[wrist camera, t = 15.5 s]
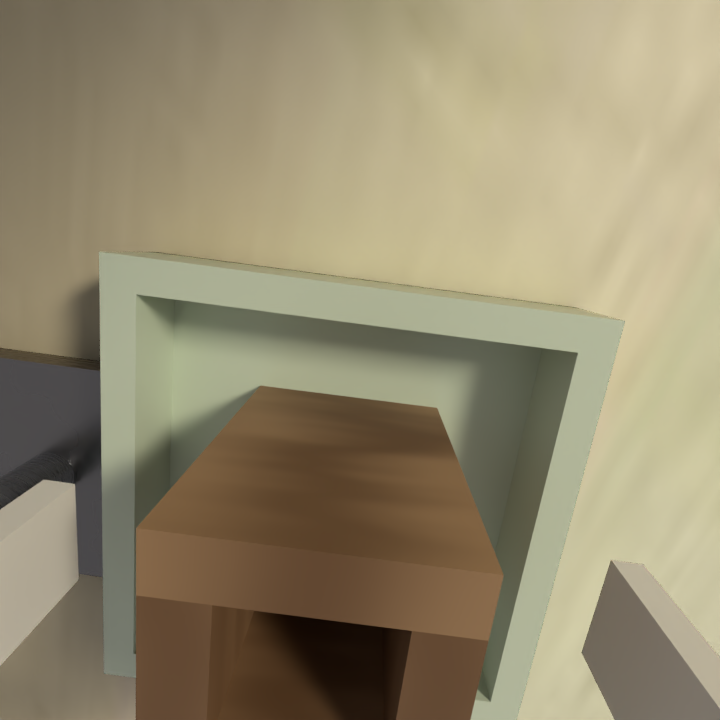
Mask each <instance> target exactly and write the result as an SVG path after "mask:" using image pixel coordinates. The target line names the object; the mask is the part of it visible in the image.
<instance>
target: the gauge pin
mask: <svg viewBox="0 0 720 720" xmlns="http://www.w3.org/2000/svg"><path fill="white" fill-rule="evenodd" d="M42 480H50V481H58V482H65V483H72V484H75V497H76V522H77V547H78V571H79V574H84V575H92V576H99V577H103V551H102V464H101V378H100V361H93V360H86V359H78V358H71V357H63V356H56V355H48V354H41V353H33V352H26V351H18V350H11V349H3V348H0V509H2V508H3V507H5V506H6V505H8V504H9V503H11V502H12V501H13V500H15V499H16V498H18V497H19V496H21V495H22V494H24V493H25V492H26V491H28V490H29V489H31V488H32V487H34V486H35V485H37V484H38V483H39V482H41V481H42Z"/></svg>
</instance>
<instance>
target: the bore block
mask: <svg viewBox="0 0 720 720" xmlns="http://www.w3.org/2000/svg"><path fill="white" fill-rule="evenodd" d="M503 576H504V574H503V572H502V569H501V567H500V564H499V562H498V559H497V557H496V554H495V552H494V549H493V547H492V544H491V542H490V539H489V537H488V534H487V532H486V529H485V527H484V524H483V522H482V519H481V517H480V514H479V512H478V509H477V507H476V504H475V502H474V499H473V497H472V494H471V492H470V489H469V487H468V484H467V482H466V479H465V477H464V474H463V472H462V469H461V467H460V464H459V461H458V459H457V456H456V454H455V451H454V449H453V446H452V444H451V441H450V439H449V436H448V434H447V431H446V429H445V426H444V424H443V421H442V419H441V416H440V414H439V411H438V409H437V408H435V407H427V406H419V405H411V404H403V403H395V402H387V401H379V400H371V399H363V398H355V397H347V396H340V395H332V394H324V393H316V392H308V391H300V390H292V389H284V388H276V387H268V386H260V387H259V388H258V389H257V390H256V391H255V392H254V394H253V395H252V396H251V397H250V398H249V399H248V400H247V402H246V403H245V404H244V405H243V406H242V407H241V408H240V410H239V411H238V412H237V413H236V414H235V415H234V416H233V418H232V419H231V420H230V421H229V422H228V423H227V424H226V426H225V427H224V428H223V429H222V430H221V431H220V433H219V434H218V435H217V436H216V437H215V438H214V439H213V441H212V442H211V443H210V444H209V445H208V446H207V447H206V449H205V450H204V451H203V452H202V453H201V454H200V455H199V457H198V458H197V459H196V460H195V461H194V462H193V463H192V465H191V466H190V467H189V468H188V469H187V470H186V472H185V473H184V474H183V475H182V476H181V477H180V478H179V480H178V481H177V482H176V483H175V484H174V485H173V486H172V488H171V489H170V490H169V491H168V492H167V493H166V494H165V496H164V497H163V498H162V499H161V500H160V501H159V502H158V504H157V505H156V506H155V507H154V508H153V509H152V511H151V512H150V513H149V514H148V515H147V516H146V517H145V519H144V520H143V521H142V522H141V523H140V524H139V525H138V527H137V528H136V720H470V719H471V715H472V711H473V706H474V702H475V698H476V693H477V689H478V685H479V680H480V676H481V672H482V667H483V663H484V659H485V654H486V650H487V646H488V641H489V637H490V633H491V628H492V624H493V620H494V615H495V611H496V607H497V602H498V598H499V594H500V589H501V585H502V581H503Z"/></svg>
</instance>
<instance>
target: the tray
mask: <svg viewBox="0 0 720 720" xmlns="http://www.w3.org/2000/svg"><path fill="white" fill-rule="evenodd" d="M99 291H100V378H101V464H102V551H103V637H104V674H110V675H117V676H124V677H132V678H136V528H137V527H138V525H139V524H140V523H141V522H142V521H143V520H144V519H145V517H146V516H147V515H148V514H149V513H150V512H151V511H152V509H153V508H154V507H155V506H156V505H157V504H158V502H159V501H160V500H161V499H162V498H163V497H164V496H165V494H166V493H167V492H168V491H169V490H170V489H171V488H172V486H173V485H174V484H175V483H176V482H177V481H178V480H179V478H180V477H181V476H182V475H183V474H184V473H185V472H186V470H187V469H188V468H189V467H190V466H191V465H192V463H193V462H194V461H195V460H196V459H197V458H198V457H199V455H200V454H201V453H202V452H203V451H204V450H205V449H206V447H207V446H208V445H209V444H210V443H211V442H212V441H213V439H214V438H215V437H216V436H217V435H218V434H219V433H220V431H221V430H222V429H223V428H224V427H225V426H226V424H227V423H228V422H229V421H230V420H231V419H232V418H233V416H234V415H235V414H236V413H237V412H238V411H239V410H240V408H241V407H242V406H243V405H244V404H245V403H246V402H247V400H248V399H249V398H250V397H251V396H252V395H253V394H254V392H255V391H256V390H257V389H258V388H259V387H260V386H268V387H276V388H284V389H292V390H300V391H308V392H316V393H324V394H332V395H340V396H347V397H355V398H363V399H371V400H379V401H387V402H395V403H403V404H411V405H419V406H427V407H435V408H437V409H438V411H439V414H440V416H441V419H442V421H443V424H444V426H445V429H446V431H447V434H448V436H449V439H450V441H451V444H452V446H453V449H454V451H455V454H456V456H457V459H458V461H459V464H460V467H461V469H462V472H463V474H464V477H465V479H466V482H467V484H468V487H469V489H470V492H471V494H472V497H473V499H474V502H475V504H476V507H477V509H478V512H479V514H480V517H481V519H482V522H483V524H484V527H485V529H486V532H487V534H488V537H489V539H490V542H491V544H492V547H493V549H494V552H495V554H496V557H497V559H498V562H499V564H500V567H501V569H502V572H503V574H504V576H503V581H502V585H501V589H500V594H499V598H498V602H497V607H496V611H495V615H494V620H493V624H492V628H491V633H490V637H489V641H488V646H487V650H486V654H485V659H484V663H483V667H482V672H481V676H480V680H479V685H478V689H477V693H476V698H475V702H474V706H473V711H472V715H471V719H470V720H517V717H518V713H519V710H520V706H521V702H522V699H523V695H524V691H525V688H526V684H527V680H528V677H529V673H530V669H531V665H532V662H533V658H534V654H535V651H536V647H537V643H538V640H539V636H540V632H541V629H542V625H543V621H544V618H545V614H546V610H547V607H548V603H549V599H550V596H551V592H552V588H553V585H554V581H555V577H556V573H557V570H558V566H559V562H560V559H561V555H562V551H563V548H564V544H565V540H566V537H567V533H568V529H569V526H570V522H571V518H572V515H573V511H574V507H575V504H576V500H577V496H578V493H579V489H580V485H581V482H582V478H583V474H584V470H585V467H586V463H587V459H588V456H589V452H590V448H591V445H592V441H593V437H594V434H595V430H596V426H597V423H598V419H599V415H600V412H601V408H602V404H603V401H604V397H605V393H606V390H607V386H608V382H609V378H610V375H611V371H612V367H613V364H614V360H615V356H616V353H617V349H618V345H619V342H620V338H621V334H622V331H623V327H624V323H625V321H623V320H620V319H616V318H612V317H608V316H605V315H601V314H597V313H594V312H590V311H586V310H583V309H579V308H575V307H568V306H560V305H552V304H545V303H537V302H530V301H522V300H514V299H507V298H499V297H492V296H484V295H476V294H469V293H461V292H454V291H446V290H439V289H431V288H423V287H416V286H408V285H401V284H393V283H385V282H378V281H370V280H363V279H355V278H347V277H340V276H332V275H325V274H317V273H310V272H302V271H294V270H287V269H279V268H272V267H264V266H256V265H249V264H241V263H234V262H226V261H218V260H211V259H203V258H196V257H188V256H180V255H173V254H165V253H158V252H99Z"/></svg>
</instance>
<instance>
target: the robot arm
mask: <svg viewBox="0 0 720 720" xmlns="http://www.w3.org/2000/svg"><path fill="white" fill-rule="evenodd" d="M78 580H79V571H78V547H77V522H76V497H75V484H72V483H65V482H58V481H50V480H42V481H41V482H39V483H38V484H37V485H35V486H34V487H32V488H31V489H29V490H28V491H26V492H25V493H24V494H22V495H21V496H19V497H18V498H16V499H15V500H13V501H12V502H11V503H9V504H8V505H6V506H5V507H3V508H2V509H0V666H1V665H2V663H3V662H4V661H5V660H6V659H7V658H8V657H9V656H10V655H11V654H12V653H13V651H14V650H15V649H16V648H17V647H18V646H19V645H20V644H21V643H22V642H23V640H24V639H25V638H26V637H27V636H28V635H29V634H30V633H31V632H32V631H33V629H34V628H35V627H36V626H37V625H38V624H39V623H40V622H41V621H42V620H43V618H44V617H45V616H46V615H47V614H48V613H49V612H50V611H51V610H52V609H53V607H54V606H55V605H56V604H57V603H58V602H59V601H60V600H61V599H62V598H63V596H64V595H65V594H66V593H67V592H68V591H69V590H70V589H71V588H72V587H73V585H74V584H75V583H76V582H77V581H78ZM582 654H583V656H584V658H585V660H586V662H587V664H588V666H589V668H590V670H591V672H592V674H593V676H594V678H595V681H596V683H597V685H598V687H599V689H600V691H601V693H602V695H603V697H604V699H605V701H606V703H607V705H608V707H609V709H610V711H611V713H612V715H613V717H614V719H615V720H720V657H719V656H718V654H717V653H716V652H715V651H714V649H713V648H712V647H711V646H710V645H709V643H708V642H707V641H706V640H705V639H704V637H703V636H702V635H701V634H700V632H699V631H698V630H697V629H696V628H695V626H694V625H693V624H692V623H691V621H690V620H689V619H688V618H687V617H686V615H685V614H684V613H683V612H682V610H681V609H680V608H679V607H678V606H677V604H676V603H675V602H674V601H673V600H672V598H671V597H670V596H669V595H668V593H667V592H666V591H665V590H664V589H663V587H662V586H661V585H660V584H659V582H658V581H657V580H656V579H655V578H654V576H653V575H652V574H651V573H650V572H649V570H648V569H647V568H646V567H645V565H644V564H638V563H631V562H623V561H616V560H611V562H610V565H609V568H608V571H607V574H606V578H605V581H604V584H603V587H602V590H601V593H600V596H599V600H598V603H597V606H596V609H595V612H594V615H593V618H592V622H591V625H590V628H589V631H588V634H587V637H586V640H585V644H584V647H583V650H582Z"/></svg>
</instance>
